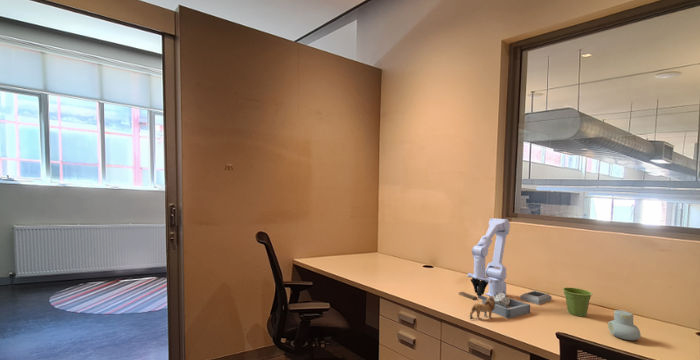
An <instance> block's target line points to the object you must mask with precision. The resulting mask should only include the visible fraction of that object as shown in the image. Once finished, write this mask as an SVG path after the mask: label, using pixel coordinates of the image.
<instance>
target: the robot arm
mask: <svg viewBox="0 0 700 360" xmlns="http://www.w3.org/2000/svg"><path fill="white" fill-rule="evenodd" d="M510 227H511V223H510V220H509V219H507V218H494V217H491V218H490V219H489V220H488V228H487V231H486V232H485V235H483V236H481V237H480V240H478V242H477V244H476V245H474V246H472V248H471V254H472V258H473V273H471V272H468V273H467V278H471V279H470V282H471V284H472V286H473V290H474V293H475V294H477V285H479V286H480V295H482V296H484V294H485V295H487V296H488V297H493V298H494V297H495V296H494V295H496V292H497V294H498V293H503V291H504V294H505V295H507V297H508V296H509V295H508V294H507V284H506V283H507V282H506V281H505V280H506V279H507V268H506V266H505V265H504V264H503V258H504V252H505V245H506V239H507V235H509V232H510ZM495 235H496V237H495V242H494V243H495V244H494V247H493V255H492V261H490V262H488V263H487V266H486V258H487V256H488V255H489V248H490V246H491V244H492V242H493V241H492V238H494V236H495ZM487 286H488V292H485V291H486V288H487Z"/></svg>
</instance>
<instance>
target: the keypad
mask: <svg viewBox="0 0 700 360" xmlns="http://www.w3.org/2000/svg"><path fill="white" fill-rule="evenodd" d="M552 298H553V297H552V295H550V294H549V293H545V292H541V291H538V290H532V291H528V292H525V293H522V294H520V296H519V299H520V300H519V301H525V302H526V303H527V302H528V303H532V304H535V305H539V306H540V305H542V304H545V303H548V302H550V300H551V301H552Z"/></svg>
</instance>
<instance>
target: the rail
mask: <svg viewBox="0 0 700 360" xmlns="http://www.w3.org/2000/svg"><path fill="white" fill-rule="evenodd" d="M458 295H459V296H462V297H465V298H467V299H469V300H474V301H476V300H478V296H477V295H476V296H475V295H473V294H470V293H467V292H464V291H460V292H459V291H458Z"/></svg>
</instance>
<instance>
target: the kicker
mask: <svg viewBox="0 0 700 360" xmlns="http://www.w3.org/2000/svg"><path fill="white" fill-rule="evenodd" d="M476 296H477V299H479V300H487V299H486V298H487V296H485V295H480V286H479V285H477V293H476Z"/></svg>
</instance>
